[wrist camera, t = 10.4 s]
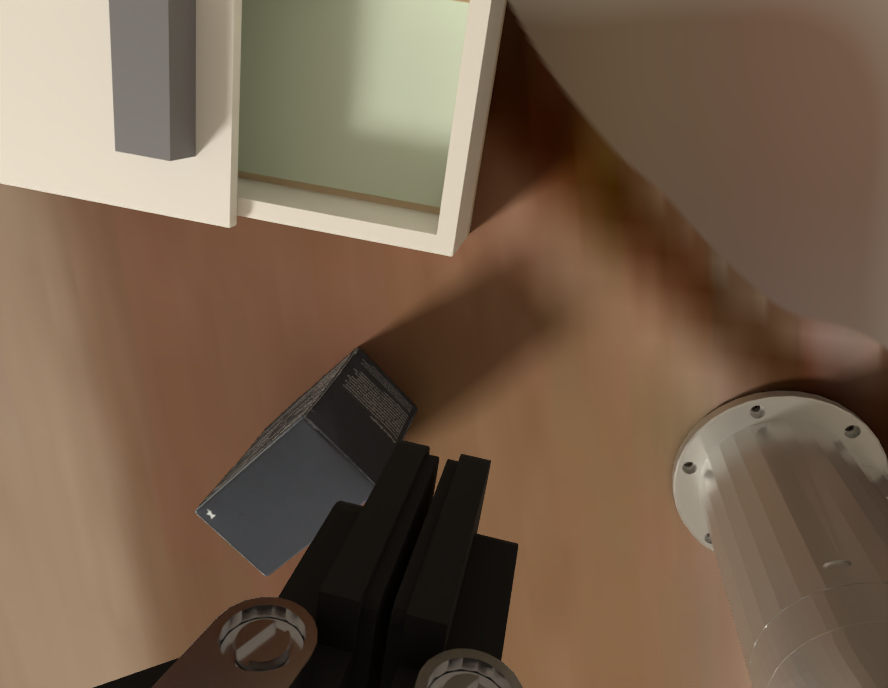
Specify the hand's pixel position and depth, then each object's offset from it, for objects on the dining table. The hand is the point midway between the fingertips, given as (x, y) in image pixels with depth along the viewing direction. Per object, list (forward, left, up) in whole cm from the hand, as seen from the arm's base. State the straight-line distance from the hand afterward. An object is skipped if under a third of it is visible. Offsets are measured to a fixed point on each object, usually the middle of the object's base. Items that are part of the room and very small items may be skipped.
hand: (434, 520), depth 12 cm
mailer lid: (+27, -5, -27) cm, 39 cm away
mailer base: (+14, -5, -31) cm, 34 cm away
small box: (+11, +17, -31) cm, 37 cm away
